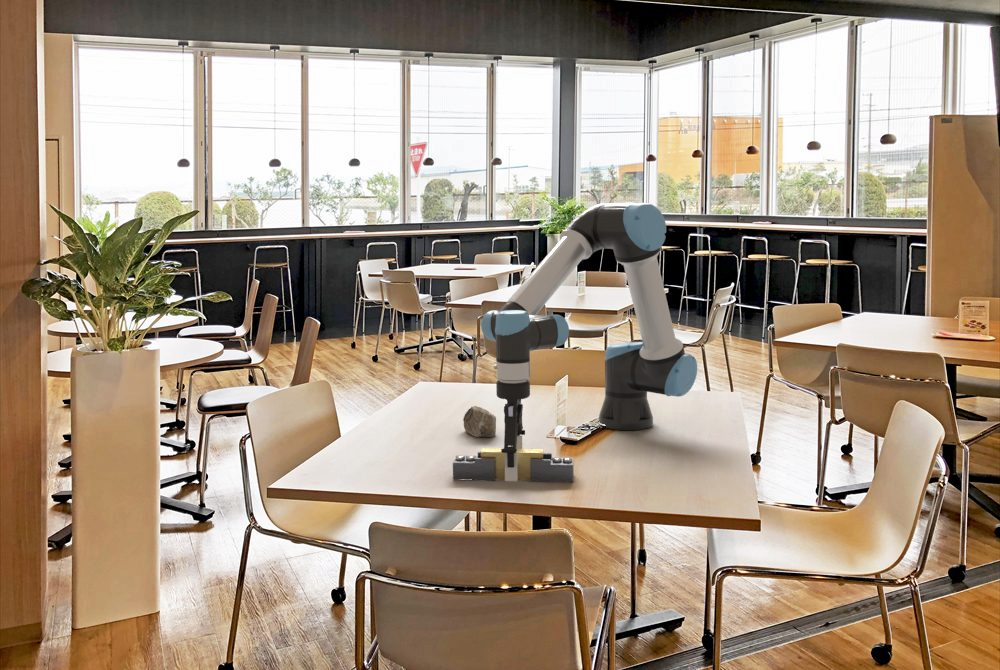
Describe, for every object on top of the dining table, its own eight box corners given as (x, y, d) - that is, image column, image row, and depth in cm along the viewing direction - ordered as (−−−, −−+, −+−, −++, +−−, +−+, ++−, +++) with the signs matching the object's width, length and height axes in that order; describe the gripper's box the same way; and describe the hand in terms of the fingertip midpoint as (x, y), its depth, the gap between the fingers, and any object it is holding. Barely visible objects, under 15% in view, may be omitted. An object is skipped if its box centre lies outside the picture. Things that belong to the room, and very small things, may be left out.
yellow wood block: (543, 477, 204) (543, 449, 203) (542, 481, 201) (542, 452, 200) (482, 475, 205) (482, 448, 204) (481, 479, 202) (480, 451, 201)
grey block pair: (573, 474, 205) (573, 453, 204) (572, 482, 199) (573, 460, 198) (457, 472, 207) (456, 451, 207) (453, 479, 202) (452, 458, 201)
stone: (481, 439, 236) (481, 413, 235) (457, 430, 246) (458, 405, 245) (503, 437, 239) (504, 411, 239) (480, 428, 250) (480, 403, 249)
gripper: (502, 369, 213) (503, 455, 216) (489, 391, 188) (491, 488, 191) (533, 369, 212) (534, 456, 215) (525, 391, 187) (526, 489, 190)
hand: (514, 471), depth 203 cm, fingers open, 13 cm apart
